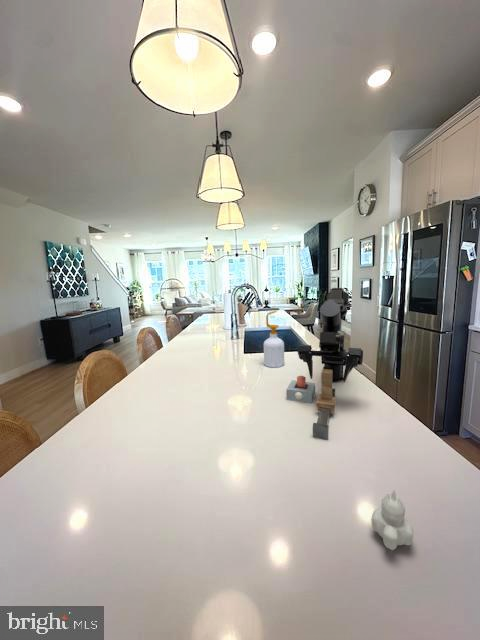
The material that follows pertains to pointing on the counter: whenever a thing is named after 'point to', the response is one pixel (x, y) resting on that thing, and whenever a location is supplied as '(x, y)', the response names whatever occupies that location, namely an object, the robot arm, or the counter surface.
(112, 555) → the counter surface
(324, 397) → the wooden t-block
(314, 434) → the rail
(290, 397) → the box
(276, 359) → the soap bottle
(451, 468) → the counter surface
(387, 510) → the white animal figurine
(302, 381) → the button
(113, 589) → the counter surface
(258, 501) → the counter surface
